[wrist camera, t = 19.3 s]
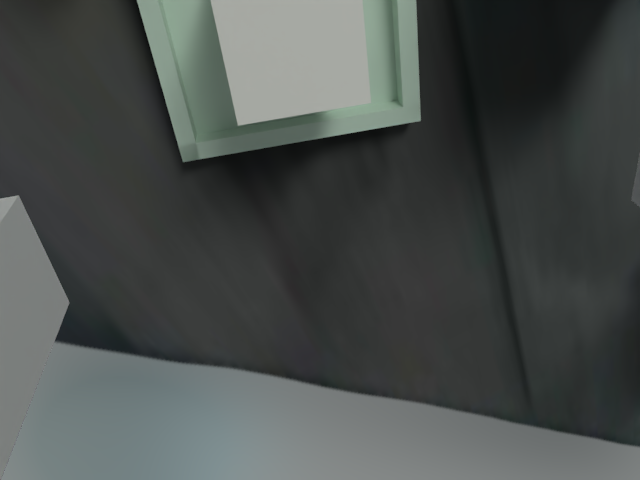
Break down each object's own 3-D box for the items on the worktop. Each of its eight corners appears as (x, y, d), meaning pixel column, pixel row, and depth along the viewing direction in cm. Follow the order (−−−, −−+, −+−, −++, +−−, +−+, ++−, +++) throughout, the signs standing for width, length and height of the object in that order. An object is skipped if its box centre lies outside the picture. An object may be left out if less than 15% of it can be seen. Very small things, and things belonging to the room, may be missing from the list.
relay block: (236, 75, 32) (236, 126, 25) (211, -44, 29) (204, -23, 22) (343, 57, 32) (372, 103, 26) (330, -63, 29) (359, -48, 22)
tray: (185, 149, 34) (183, 162, 33) (108, -124, 27) (101, -124, 25) (412, 110, 35) (420, 120, 34) (400, -168, 28) (409, -172, 26)
